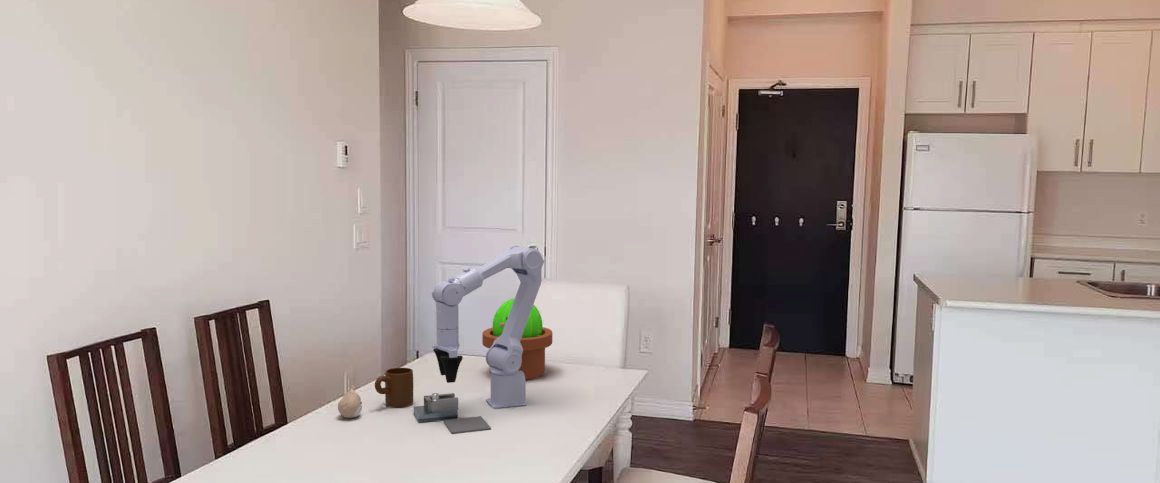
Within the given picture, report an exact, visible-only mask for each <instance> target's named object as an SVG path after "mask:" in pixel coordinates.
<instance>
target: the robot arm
mask: <svg viewBox="0 0 1160 483" xmlns="http://www.w3.org/2000/svg"><path fill="white" fill-rule="evenodd" d="M544 264H545V259H544V258H543V255H542V253H541V252H540V251H539V250H538V249H536V248H528V247H523V246H519V245H512V246H511V247H509V248H507V249H505V250H503V251H502V252H501V253H499V255H497V256H495V257H494V258H492V259H491V260H489V261H488V262H485V264H483V265H481V266H480V267H478V268H474V267H465V268H463V269H462V272H460V273H459V274H457V275H455V276H450V277H449V278H448V280H447V281H443V280H442V281H440V282H438V283H437V284H436V285H435V286H434V288H433V291H432V292H431V297H432V300H434V302H435V307H436V312H435V313H436V314H435V317H436V327H435V328H436V343H434V344H432V345H431V348H432V350H433V353H434V354H435V356H436V360H437V364H438V369H439V372H440V376H444V377H445V380H446V383H447V384H450V383H451V384H452V383H456V380H457V376H458V372H459V368H460V365H461V363H462V361H463V358H464V357H463V355H458V350H459V348H460V343H459V342H460V341H459V336H460V335H459V304H460V303H461V302H462V300H463V298H464V297H465V296H467V295H469V294H471V293H473V292H475V291H476V290H477V289H480V288H481V287H482V286H483V285H484V284H483V283H484V281H485V280H486V279H488V278H490V277H492V276H494V275H496V274H498V273H499V272H502V271H504V270H506V269H511V270H512V271H513V272H514V273H515V274H516V275H517V278H518V280H519V282H520V284H519V286H518V288H517V291H516V293H515V294H516V295H515V297H514V298H515V299H514V298H513V299H514V302H513V305H512V308H511V310H510V313H509V316H508V318H507V321H506V324H505V327H504V329H503V332H502V335H501V336H499V337H498V338H497V339H495V340H494V343H493V345H492V346H491V347H490V348H488V350H487V352H486V354H485V361H486V364H487V365H488V366H489V372H490V371H491V374H490V397H489V398H486V399H485V401H486V402H487V403H488V404H489V405H490V406H491V408H493V409H499V408H500V409H501V408H509V407H518V406H526V405H527V402H526V400H527V399H526V395H527V394H526V392H527V390H526V388H527V387H526V384H527V383H526V381H527V380H525V375H524V373H523V371H518V370H519V368H520V367H521V363H522V353H523V348H522V345H521V343H520V340H521V337H522V335H523V332H524V329H525V326H526V324H527V321H528V318H529V315H530V313H531V310H532V307H533V304H534V305H535V301H536V299H537V295H538V292H539V290H540V287H541V285H542V278H543V277H542V270H543V266H544ZM507 348H508V349H507Z"/></svg>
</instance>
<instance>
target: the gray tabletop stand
mask: <svg viewBox="0 0 1160 483" xmlns="http://www.w3.org/2000/svg"><path fill="white" fill-rule="evenodd" d="M438 394H439V393H438ZM455 395H456V394H455V393H454V392H451V393H441V394H439V399H436V400H432V394H430V395H423V406H424V408H425V409H426V411H427V412H428V413H432V412H442V411H452V410H457V411H458V410H459V398H458V397H457V396H455Z"/></svg>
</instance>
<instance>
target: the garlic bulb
mask: <svg viewBox="0 0 1160 483" xmlns="http://www.w3.org/2000/svg"><path fill="white" fill-rule="evenodd" d="M356 389H357V387H356V386H355V385H353V384H351V385H350V390H348V391H347V392H346V393H345V394H344V395H343V397H342V398H341V399H340V401H339V402H338V404H337V411H338V412H339V414H340V415H341V416H342V417H343V418H345V419H353V418H356V417H358V416H359V415H360V414H361V412H362V409H363V401H362V400H361V396H360V395H359V394H358V393H357V392H356V391H355V390H356Z"/></svg>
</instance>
